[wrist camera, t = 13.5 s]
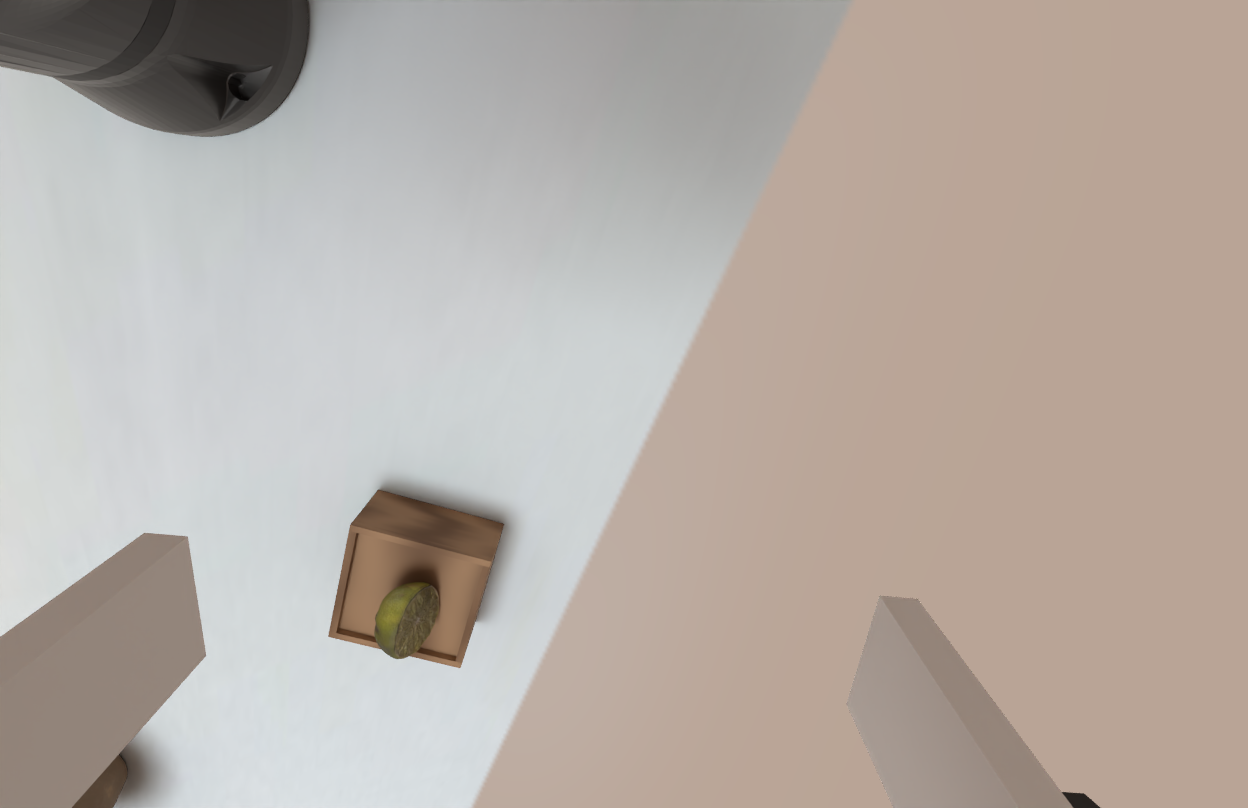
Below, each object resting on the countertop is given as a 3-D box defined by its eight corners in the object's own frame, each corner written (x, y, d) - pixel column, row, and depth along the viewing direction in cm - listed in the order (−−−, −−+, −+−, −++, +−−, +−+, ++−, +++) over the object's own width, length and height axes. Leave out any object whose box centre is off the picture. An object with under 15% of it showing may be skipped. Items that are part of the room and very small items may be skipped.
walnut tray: (358, 589, 49) (328, 636, 44) (380, 487, 46) (350, 524, 41) (476, 619, 50) (460, 668, 45) (504, 521, 47) (491, 561, 42)
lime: (426, 561, 43) (402, 606, 38) (462, 610, 44) (443, 659, 39) (374, 585, 43) (344, 632, 39) (412, 633, 45) (388, 684, 40)
